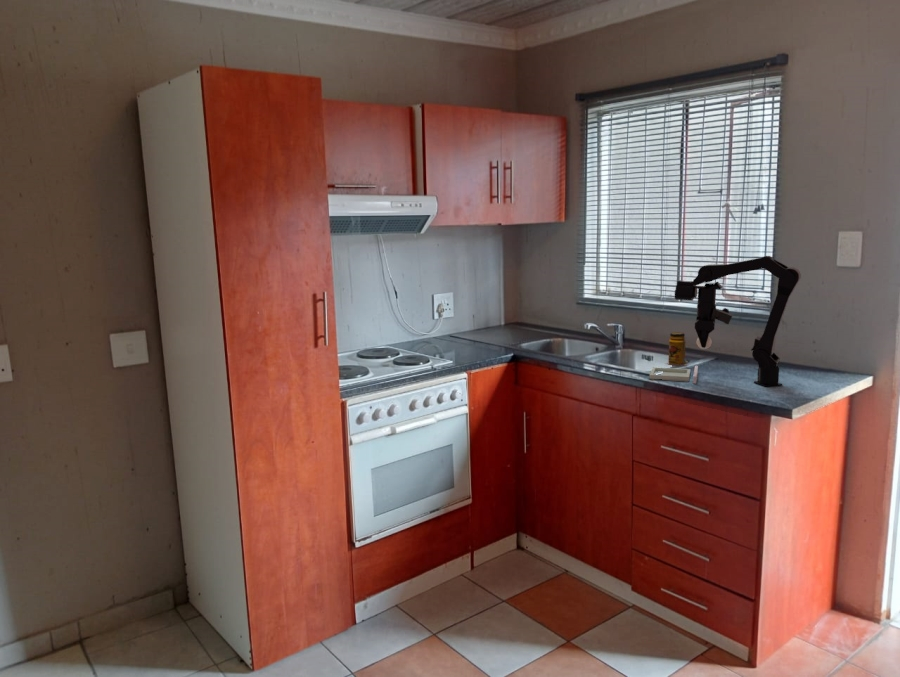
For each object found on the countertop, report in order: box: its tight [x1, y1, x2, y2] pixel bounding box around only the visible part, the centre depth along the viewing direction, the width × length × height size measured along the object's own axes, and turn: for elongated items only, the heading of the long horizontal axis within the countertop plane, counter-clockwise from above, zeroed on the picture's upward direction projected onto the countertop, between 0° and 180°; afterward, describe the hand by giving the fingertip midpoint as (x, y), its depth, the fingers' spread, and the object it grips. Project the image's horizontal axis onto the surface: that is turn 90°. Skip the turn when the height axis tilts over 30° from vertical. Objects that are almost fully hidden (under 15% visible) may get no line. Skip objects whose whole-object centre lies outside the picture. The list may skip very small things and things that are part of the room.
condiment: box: [666, 331, 689, 367], centre depth 264 cm, size 7×8×12 cm
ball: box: [695, 336, 713, 350], centre depth 237 cm, size 5×5×5 cm
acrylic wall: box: [692, 365, 699, 384], centre depth 240 cm, size 18×1×2 cm, turn 159°
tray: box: [649, 367, 691, 382], centre depth 243 cm, size 13×13×2 cm
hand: (703, 346), depth 238 cm, fingers closed on ball, 5 cm apart
